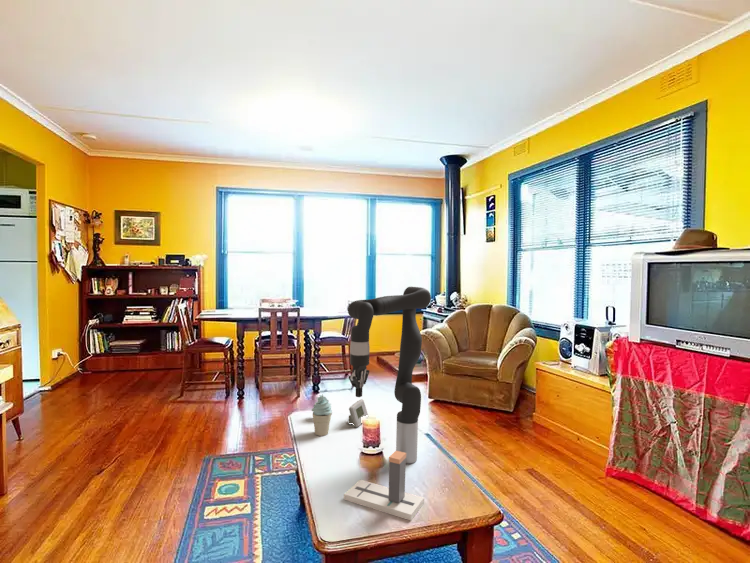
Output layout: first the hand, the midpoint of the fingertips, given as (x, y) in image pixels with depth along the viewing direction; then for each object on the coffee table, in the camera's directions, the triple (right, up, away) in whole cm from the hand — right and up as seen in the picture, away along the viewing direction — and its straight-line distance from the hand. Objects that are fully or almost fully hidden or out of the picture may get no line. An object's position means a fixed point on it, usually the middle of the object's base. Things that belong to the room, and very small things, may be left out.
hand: (358, 396), depth 168 cm
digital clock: (-2, -31, +62) cm, 69 cm away
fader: (+14, -32, -16) cm, 38 cm away
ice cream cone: (-21, -31, +46) cm, 59 cm away
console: (+9, -34, -14) cm, 38 cm away
